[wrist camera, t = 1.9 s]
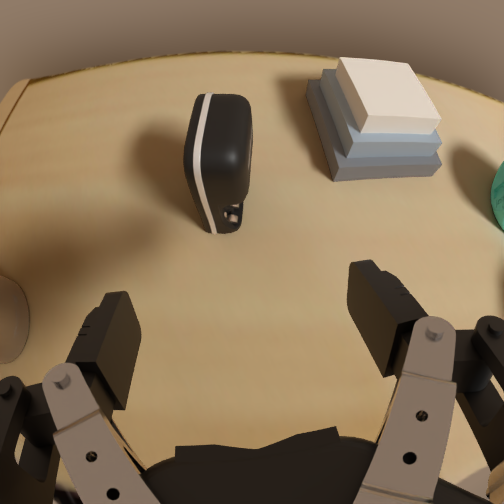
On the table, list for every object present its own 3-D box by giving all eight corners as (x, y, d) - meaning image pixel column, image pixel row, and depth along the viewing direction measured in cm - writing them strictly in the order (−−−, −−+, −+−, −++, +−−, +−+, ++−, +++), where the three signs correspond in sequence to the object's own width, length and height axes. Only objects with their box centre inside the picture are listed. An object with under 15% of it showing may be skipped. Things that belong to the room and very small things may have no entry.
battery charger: (248, 239, 28) (246, 167, 17) (205, 236, 28) (178, 165, 17) (253, 170, 30) (254, 82, 19) (214, 169, 30) (198, 81, 19)
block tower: (333, 181, 29) (354, 134, 22) (305, 95, 33) (314, 45, 26) (431, 176, 30) (465, 137, 23) (394, 96, 34) (414, 54, 26)
